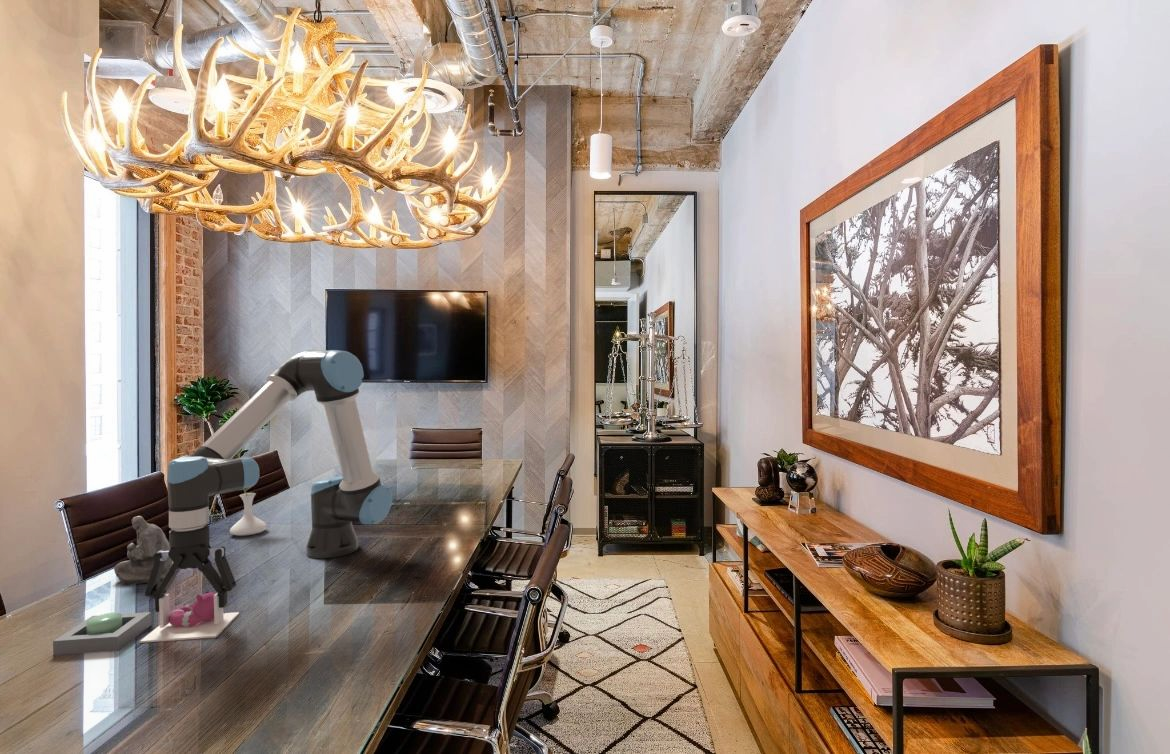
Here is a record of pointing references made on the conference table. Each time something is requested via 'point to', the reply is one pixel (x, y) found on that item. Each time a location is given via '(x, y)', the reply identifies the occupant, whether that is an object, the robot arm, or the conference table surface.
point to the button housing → (101, 636)
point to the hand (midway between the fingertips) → (192, 623)
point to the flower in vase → (248, 518)
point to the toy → (194, 611)
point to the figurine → (143, 554)
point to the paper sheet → (190, 630)
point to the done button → (104, 623)
